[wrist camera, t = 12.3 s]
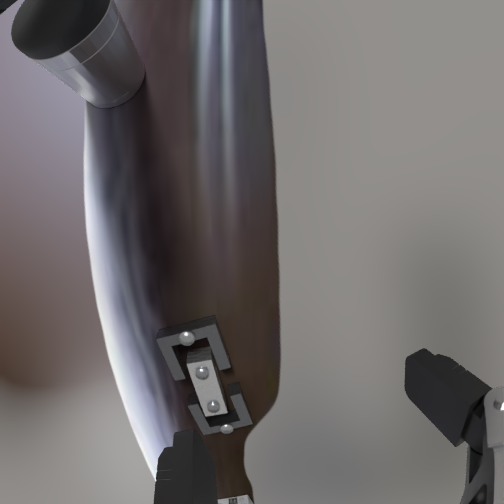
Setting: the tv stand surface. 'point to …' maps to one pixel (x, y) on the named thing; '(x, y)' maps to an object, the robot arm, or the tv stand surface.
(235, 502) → the light bulb box
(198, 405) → the end link
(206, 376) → the bolted link plate
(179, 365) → the end link
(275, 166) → the tv stand surface
